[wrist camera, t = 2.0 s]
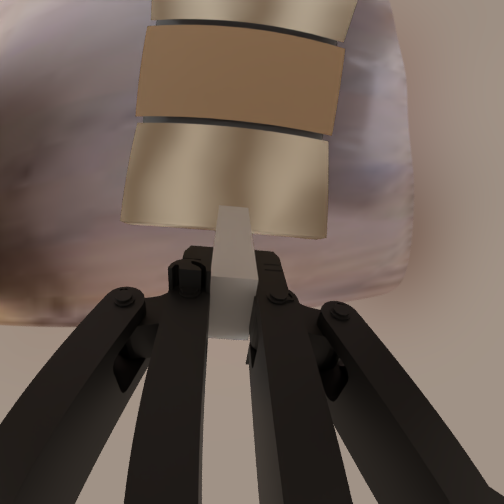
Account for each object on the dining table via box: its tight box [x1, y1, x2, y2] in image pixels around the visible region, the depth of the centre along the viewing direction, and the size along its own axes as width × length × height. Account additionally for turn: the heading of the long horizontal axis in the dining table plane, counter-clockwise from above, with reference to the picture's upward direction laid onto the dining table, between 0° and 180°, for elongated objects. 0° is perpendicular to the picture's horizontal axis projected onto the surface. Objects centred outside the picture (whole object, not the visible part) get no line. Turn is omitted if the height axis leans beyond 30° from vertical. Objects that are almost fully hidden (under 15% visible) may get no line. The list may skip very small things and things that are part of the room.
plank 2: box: [120, 123, 328, 240], centre depth 19 cm, size 14×7×2 cm, turn 83°
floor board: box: [136, 19, 345, 140], centre depth 17 cm, size 14×23×4 cm, turn 173°
